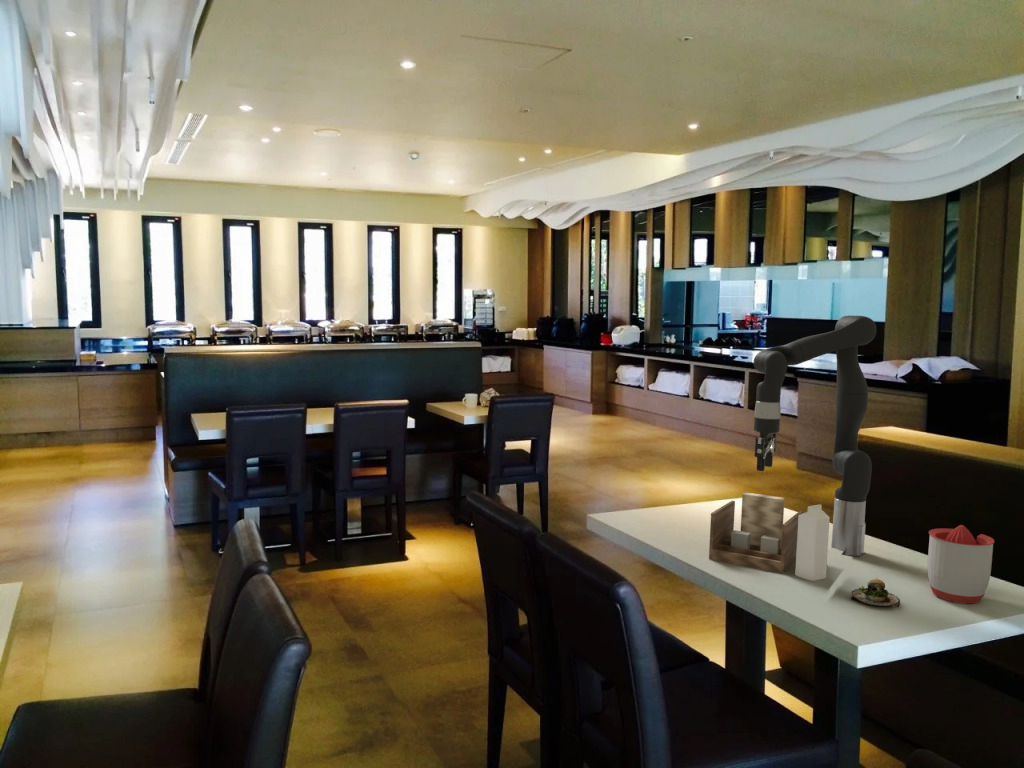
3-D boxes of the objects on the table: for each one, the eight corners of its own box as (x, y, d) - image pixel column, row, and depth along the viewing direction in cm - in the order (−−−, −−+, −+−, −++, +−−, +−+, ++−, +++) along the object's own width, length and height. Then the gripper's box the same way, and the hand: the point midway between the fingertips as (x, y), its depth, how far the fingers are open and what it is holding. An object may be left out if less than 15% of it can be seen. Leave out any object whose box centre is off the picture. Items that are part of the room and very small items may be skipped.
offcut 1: (749, 555, 249) (750, 533, 249) (746, 557, 247) (747, 535, 246) (733, 552, 252) (734, 530, 251) (730, 554, 250) (731, 532, 249)
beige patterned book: (781, 555, 250) (784, 497, 248) (778, 557, 248) (781, 499, 246) (742, 548, 257) (745, 492, 255) (739, 550, 254) (742, 494, 252)
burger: (843, 601, 217) (845, 574, 216) (861, 591, 225) (863, 564, 224) (889, 614, 208) (891, 585, 208) (906, 603, 217) (908, 575, 216)
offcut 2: (779, 560, 245) (780, 538, 244) (776, 563, 242) (778, 540, 241) (762, 557, 247) (763, 535, 247) (759, 560, 245) (761, 537, 244)
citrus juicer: (999, 596, 223) (1005, 524, 221) (979, 612, 210) (985, 536, 209) (937, 581, 234) (943, 513, 232) (915, 595, 222) (920, 523, 220)
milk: (825, 583, 230) (831, 506, 228) (812, 586, 227) (817, 509, 225) (807, 576, 235) (812, 501, 233) (793, 579, 232) (799, 504, 230)
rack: (800, 560, 250) (803, 511, 249) (783, 578, 233) (786, 525, 232) (729, 547, 262) (731, 500, 260) (708, 563, 245) (711, 513, 244)
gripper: (773, 419, 240) (770, 474, 242) (786, 415, 252) (783, 466, 254) (748, 417, 244) (745, 470, 246) (761, 412, 256) (758, 463, 258)
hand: (764, 468), depth 250 cm, fingers open, 8 cm apart
